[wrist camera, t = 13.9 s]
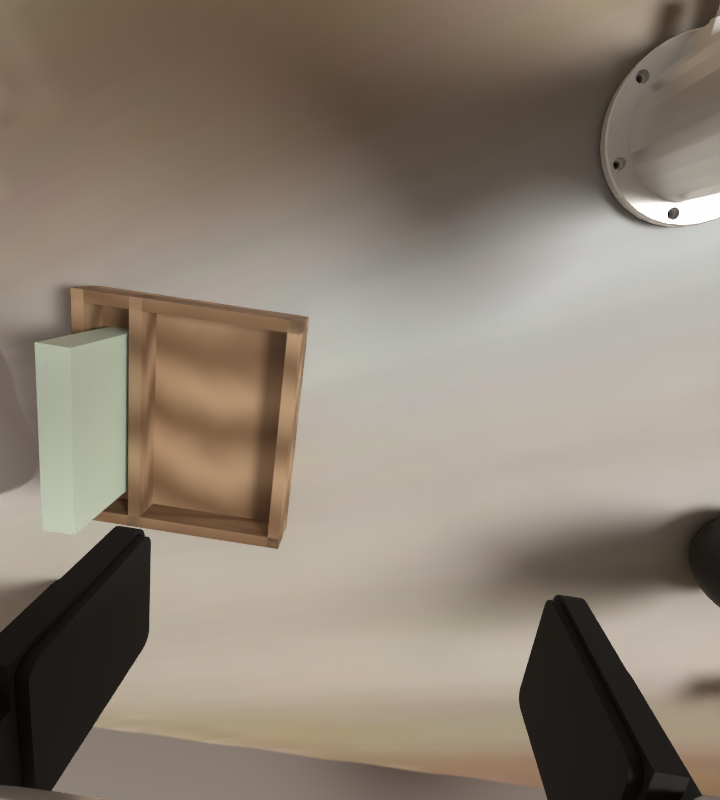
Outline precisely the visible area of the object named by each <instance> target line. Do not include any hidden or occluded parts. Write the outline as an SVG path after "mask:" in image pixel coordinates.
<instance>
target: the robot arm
mask: <svg viewBox="0 0 720 800" xmlns="http://www.w3.org/2000/svg"><path fill="white" fill-rule="evenodd" d="M719 3H720V0H719ZM636 78H638V79H639V83H638V82H637V80H636ZM600 154H601V163H602V169H603V172H604V175H605V178H606V182H607V184H608V186H609V188H610V189H611V191H612V193H613V195H614V197H615V198H616V199H617V200H618V201H619V202H620V203H621V205H622V206H623V207H624V208H625V209H626V210H628V211H629V212H630V213H632V214H633V215H635V216H636V217H637V218H640V219H642V220H644V221H647V222H649V223H651V224H656V225H661V226H666V227H684V226H690V225H697V224H701V223H705V222H708V221H712V220H715V219H717V218H719V217H720V4H719V7H718V11H717V14H716V17H714V18H712V19H711V20H710V22H709V23H708V24H707V25H706V26H705V27H701V28H697V29H693V30H689V31H686V32H684V33H681V34H679V35H677V36H675V37H673V38H670V39H668V40H667V41H665V42H664V43H663V44H661V45H660V46H658V47H657V48H655V49H654V50H652V51H651V52H650V53H649V54H648V55H646V56H645V57H644V58H643V59H642V60H641V61H639V62H638V63H637V64H636V66H635V67H634V68H633V69H632V70H631V71H630V72H629V73H628V75H627V76H626V77H625V78H624V80H623V81H622V83H621V84H620V86H619V87H618V89H617V91H616V92H615V94H614V96H613V98H612V100H611V102H610V105H609V107H608V109H607V112H606V115H605V119H604V123H603V127H602V131H601V144H600ZM613 163H616V164H617V168H616V169H614V167H613ZM668 212H669V217H667V213H668ZM150 555H151V540H150V538H149V537H145V535H144V531H143V530H141V529H135V528H129V527H123V526H116V527H115V528H113V529H112V530H111V531H110V532H109V533H108V534H107V535H106V536H105V537H104V538H103V539H102V540H101V541H100V542H99V543H98V544H96V545H95V546H94V547H93V548H92V549H91V550H90V551H89V552H88V553H87V554H86V555H85V556H84V557H83V558H82V559H81V560H80V561H79V562H77V563H76V564H75V565H74V566H73V567H72V568H71V569H70V570H69V571H68V572H67V573H66V574H65V575H64V576H63V577H62V578H61V579H59V580H57V581H56V582H54V583H53V584H52V585H50V586H49V587H48V588H47V589H46V590H45V591H44V592H43V593H42V594H41V595H40V596H39V597H38V598H37V599H36V600H34V601H33V602H32V603H31V604H30V605H29V606H28V607H27V608H26V609H25V610H24V611H23V612H22V613H21V614H20V615H19V616H17V617H16V618H15V619H14V620H13V621H12V622H11V623H10V624H9V625H8V626H7V627H6V628H5V629H4V630H3V631H2V632H0V800H111V799H104V798H97V797H90V796H83V795H75V794H69V793H61V792H54V791H51V790H52V789H53V787H54V786H55V784H56V783H57V781H58V779H59V778H60V776H61V775H62V773H63V772H64V770H65V769H66V767H67V766H68V764H69V763H70V761H71V759H72V758H73V756H74V755H75V753H76V752H77V750H78V749H79V747H80V745H81V744H82V742H83V741H84V739H85V738H86V736H87V735H88V733H89V731H90V730H91V728H92V727H93V725H94V724H95V722H96V721H97V719H98V717H99V716H100V714H101V713H102V711H103V710H104V708H105V707H106V705H107V704H108V702H109V700H110V699H111V697H112V696H113V694H114V693H115V691H116V690H117V688H118V686H119V685H120V683H121V682H122V680H123V679H124V677H125V676H126V674H127V672H128V671H129V669H130V668H131V666H132V665H133V663H134V662H135V660H136V658H137V657H138V655H139V654H140V652H141V651H142V649H143V647H144V646H145V643H146V641H147V638H148V633H149V605H150ZM519 703H520V709H521V713H522V716H523V719H524V723H525V726H526V729H527V732H528V736H529V739H530V742H531V746H532V749H533V752H534V756H535V759H536V762H537V766H538V769H539V772H540V776H541V779H542V782H543V786H544V789H545V792H546V796H547V799H548V800H720V797H717V796H709V795H703V796H702V794H701V792H700V791H699V789H698V787H697V786H696V784H695V782H694V781H693V779H692V777H691V776H690V774H689V772H688V771H687V769H686V767H685V766H684V764H683V762H682V761H681V759H680V757H679V756H678V754H677V752H676V751H675V749H674V747H673V746H672V744H671V742H670V740H669V739H668V737H667V735H666V734H665V732H664V730H663V729H662V727H661V725H660V724H659V722H658V720H657V719H656V717H655V715H654V714H653V712H652V710H651V709H650V707H649V705H648V704H647V702H646V700H645V699H644V697H643V695H642V694H641V692H640V690H639V688H638V687H637V685H636V683H635V682H634V680H633V678H632V677H631V675H630V674H629V673H628V671H627V670H626V668H625V667H624V665H623V663H622V662H621V660H620V658H619V657H618V655H617V653H616V652H615V650H614V648H613V646H612V645H611V643H610V641H609V640H608V638H607V636H606V635H605V633H604V631H603V630H602V628H601V626H600V625H599V623H598V621H597V620H596V618H595V616H594V614H593V613H592V611H591V609H590V608H589V606H588V604H587V603H586V601H585V600H584V599H582V598H576V597H570V596H563V595H556V596H555V597H554V599H553V600H548V601H547V602H546V604H545V606H544V610H543V613H542V616H541V620H540V623H539V627H538V630H537V633H536V637H535V640H534V644H533V647H532V650H531V654H530V657H529V661H528V664H527V667H526V671H525V674H524V677H523V681H522V684H521V688H520V692H519Z"/></svg>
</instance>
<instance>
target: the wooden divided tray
mask: <svg viewBox="0 0 720 800" xmlns="http://www.w3.org/2000/svg"><path fill="white" fill-rule="evenodd" d="M70 290H71V325H72V334H76V333H81V332H86V331H91V330H95V329H100V328H105V327H110V326H115V327H121V328H127V329H129V422H128V490H127V491H126V492H124V493H123V494H122V495H121V496H120V497H119V498H117V499H116V500H115V501H114V502H113V503H111V504H110V505H109V506H108V507H107V508H106V509H104V510H103V511H102V512H101V513H100V514H99V515H97V516H96V517H95V518H94V519H93V520H96V521H103V522H109V523H115V524H122V525H128V526H135V527H141V528H147V529H154V530H160V531H167V532H173V533H179V534H186V535H192V536H199V537H205V538H211V539H218V540H224V541H231V542H237V543H243V544H250V545H256V546H263V547H269V548H275V549H278V547H279V544H280V542H281V539H282V537H283V534H284V531H285V529H286V523H287V513H288V504H289V495H290V486H291V477H292V468H293V458H294V449H295V440H296V431H297V422H298V413H299V403H300V394H301V385H302V376H303V367H304V358H305V348H306V339H307V330H308V321H309V317H305V316H298V315H291V314H284V313H278V312H271V311H264V310H257V309H251V308H244V307H237V306H230V305H224V304H217V303H210V302H203V301H197V300H190V299H183V298H176V297H170V296H163V295H156V294H149V293H142V292H136V291H129V290H122V289H115V288H109V287H102V286H86V287H70ZM72 334H68V335H72ZM66 336H67V335H66Z"/></svg>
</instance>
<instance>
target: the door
mask: <svg viewBox="0 0 720 800" xmlns="http://www.w3.org/2000/svg"><path fill="white" fill-rule="evenodd" d="M35 366H36V390H37V414H38V439H39V463H40V487H41V511H42V530H46V531H52V532H58V533H64V534H70V535H75V534H76V533H77V532H79V531H80V530H81V529H82V528H83V527H84V526H86V525H87V524H88V523H89V522H90V521H92V520H93V519H94V518H95V517H96V516H97V515H99V514H100V513H101V512H102V511H103V510H104V509H106V508H107V507H108V506H109V505H110V504H111V503H113V502H114V501H115V500H116V499H117V498H119V497H120V496H121V495H122V494H123V493H124V492H126V491H127V490H128V422H129V329H127V328H121V327H115V326H110V327H105V328H100V329H95V330H91V331H86V332H81V333H76V334H72V335H67V336H62V337H57V338H53V339H48V340H43V341H38V342H35Z"/></svg>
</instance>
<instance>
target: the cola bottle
mask: <svg viewBox="0 0 720 800" xmlns="http://www.w3.org/2000/svg"><path fill="white" fill-rule="evenodd" d="M689 564H690V568H691V570H692V573H693V575H694V577H695V579H696V581H697V583H698V584H699V586H700V587H701V589H702V590H703V592H704V593H705V594H706V595H707V596H708V597H709V598H710V599H711V600H712V601H713V602H714V603H715V604H716V605H718V606H719V607H720V518H719V519H716V520H714V521H712V522H710V523H709V524H707V525H706V526H705V527H703V528H702V529H701V530H700V531H699V532H698V533H697V535H696V536H695V538H694V539H693V541H692V543H691V546H690V550H689Z"/></svg>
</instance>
